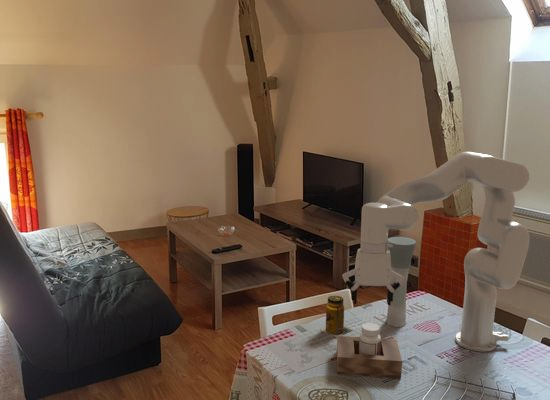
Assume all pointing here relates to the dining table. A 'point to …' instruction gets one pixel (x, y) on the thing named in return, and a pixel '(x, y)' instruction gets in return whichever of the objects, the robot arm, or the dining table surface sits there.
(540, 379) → the dining table surface
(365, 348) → the pill bottle
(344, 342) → the well block
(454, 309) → the dining table surface
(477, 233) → the robot arm
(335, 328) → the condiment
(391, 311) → the container
